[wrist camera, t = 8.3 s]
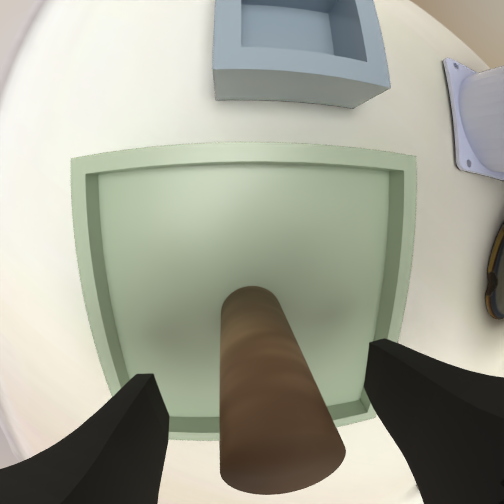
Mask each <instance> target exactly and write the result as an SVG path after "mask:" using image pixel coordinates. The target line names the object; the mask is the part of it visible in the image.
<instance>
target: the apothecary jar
mask: <svg viewBox="0 0 504 504" xmlns="http://www.w3.org/2000/svg"><path fill="white" fill-rule="evenodd" d="M487 275H488V281H489V286H488V289H487V292H486V294H485V299H486V306H487V310H488V313H489V314H490V315H491V316H492V317H493V318H495V319H503V318H504V223H503V225H502V226H501V228H500V230H499V233H498V235H497V237H496V240H495V243H494V245H493V249H492V252H491V256H490V260H489V265H488V270H487Z"/></svg>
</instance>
